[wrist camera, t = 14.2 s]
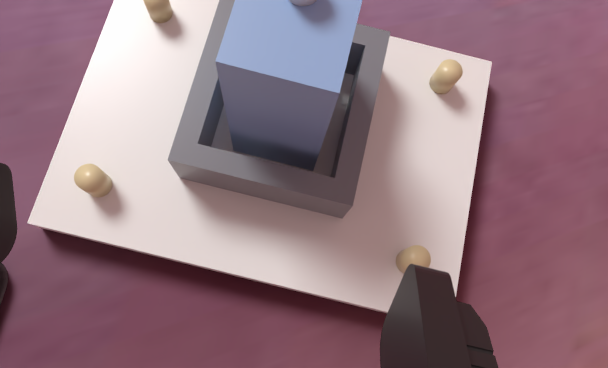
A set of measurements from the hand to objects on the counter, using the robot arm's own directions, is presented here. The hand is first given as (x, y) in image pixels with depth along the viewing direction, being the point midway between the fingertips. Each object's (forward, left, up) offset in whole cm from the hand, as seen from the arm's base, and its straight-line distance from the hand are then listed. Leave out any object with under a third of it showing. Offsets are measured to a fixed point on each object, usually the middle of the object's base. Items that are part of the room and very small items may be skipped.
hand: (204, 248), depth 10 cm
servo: (0, +8, -13) cm, 15 cm away
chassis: (0, +7, -15) cm, 16 cm away
